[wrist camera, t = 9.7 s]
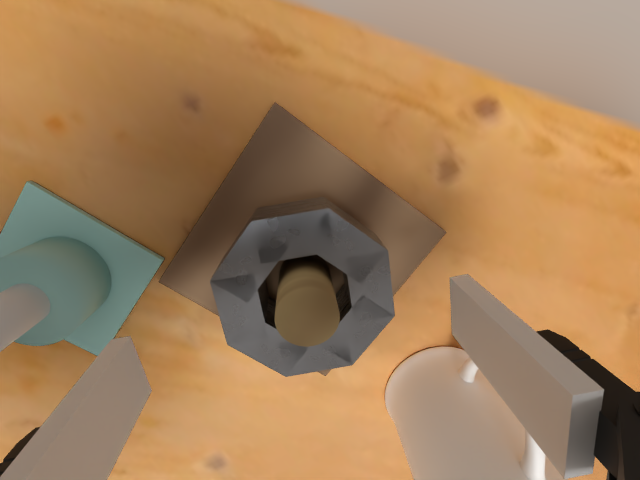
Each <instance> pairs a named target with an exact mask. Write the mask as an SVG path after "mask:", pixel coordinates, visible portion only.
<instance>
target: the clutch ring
mask: <svg viewBox="0 0 640 480" xmlns="http://www.w3.org/2000/svg"><path fill="white" fill-rule="evenodd" d="M316 254H317V255H318V256H320V257H321V258H323V259H324V260H326V261H327V262H329V263H330V264H332V265H334V266H335V267H337V268H338V269H340V270H341V271H343V278H344V285H343V286H342V287H341V288H340V290H339V291H338V292H337V293H336V295H335V296H336V300H337V304H338V309H339V313H340V321H339V325H338V328H337V330H336V331H335V333H334V334H333V335H332V336H331V337H330V338H329V339H328V340H326V341H325V342H323V343H321V344H318V345H315V346H309V347H304V346H298V345H294V344H292V343H290V342H288V341H287V340H285V339H284V338H283V337H282V336H281V335H280V334H279V332H278V330H277V328H276V325H275V308H276V300H274V299H273V298H271V297H269V294H268V289H267V285H266V280H265V279H266V278H267V276H268V275H269V273H270V272H271V271H272V269H273V268H274V267H275V265H276V264H277V263H278V261H281V260H287V259H293V258H299V257H305V256H310V255H316ZM210 284H211V288H212V291H213V295H214V298H215V302H216V306H217V309H218V313H219V316H220V320H221V324H222V327H223V331H224V334H225V338H226V341H227V344H228V345H229V346H231V347H233V348H234V349H236V350H238V351H240V352H242V353H244V354H245V355H247V356H249V357H251V358H253V359H254V360H256V361H258V362H260V363H262V364H264V365H265V366H267V367H269V368H271V369H273V370H274V371H276V372H278V373H280V374H282V375H284V376H285V377H287V376H293V375H299V374H304V373H310V372H316V371H322V370H327V369H333V368H339V367H344V366H350V365H353V364H354V363H355V361H356V360H357V359H358V358H359V357H360V356H361V354H362V353H363V352H364V351H365V350H366V349H367V347H368V346H369V345H370V344H371V343H372V342H373V340H374V339H375V338H376V337H377V336H378V335H379V333H380V332H381V331H382V330H383V329H384V328H385V326H386V325H387V324H388V323H389V322H390V321H391V319H392V318H393V317H394V315H395V313H394V303H393V293H392V283H391V273H390V263H389V253H388V250H387V248H386V247H385V246H384V244H383V243H382V242H381V240H380V239H379V238H378V236H377V235H376V234H375V233H374V232H373V231H371V230H370V229H368V228H367V227H366V226H364V225H363V224H361V223H360V222H359V221H357V220H356V219H354V218H353V217H352V216H350V215H349V214H347V213H346V212H345V211H343V210H342V209H340V208H339V207H338V206H336V205H335V204H333V203H332V202H331V201H329V200H328V199H326V198H325V197H318V198H312V199H306V200H300V201H294V202H288V203H282V204H276V205H270V206H264V207H258V208H257V209H256V210H255V212H254V213H253V215H252V216H251V217H250V219H249V220H248V222H247V223H246V225H245V226H244V228H243V229H242V231H241V232H240V233H239V235H238V236H237V238H236V239H235V241H234V242H233V244H232V245H231V247H230V248H229V249H228V251H227V252H226V254H225V255H224V257H223V258H222V260H221V261H220V263H219V265H218V267H217V269H216V271H215V272H214V274H213V276H212V278H211V280H210Z"/></svg>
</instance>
